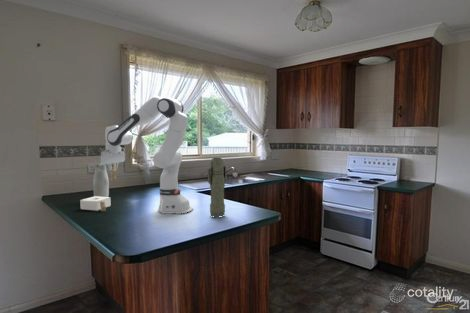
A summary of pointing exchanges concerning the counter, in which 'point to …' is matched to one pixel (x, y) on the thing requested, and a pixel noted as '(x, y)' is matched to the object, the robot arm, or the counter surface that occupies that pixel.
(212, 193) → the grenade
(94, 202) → the hole block
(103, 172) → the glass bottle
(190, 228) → the counter surface
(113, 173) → the long pin
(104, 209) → the short pin
